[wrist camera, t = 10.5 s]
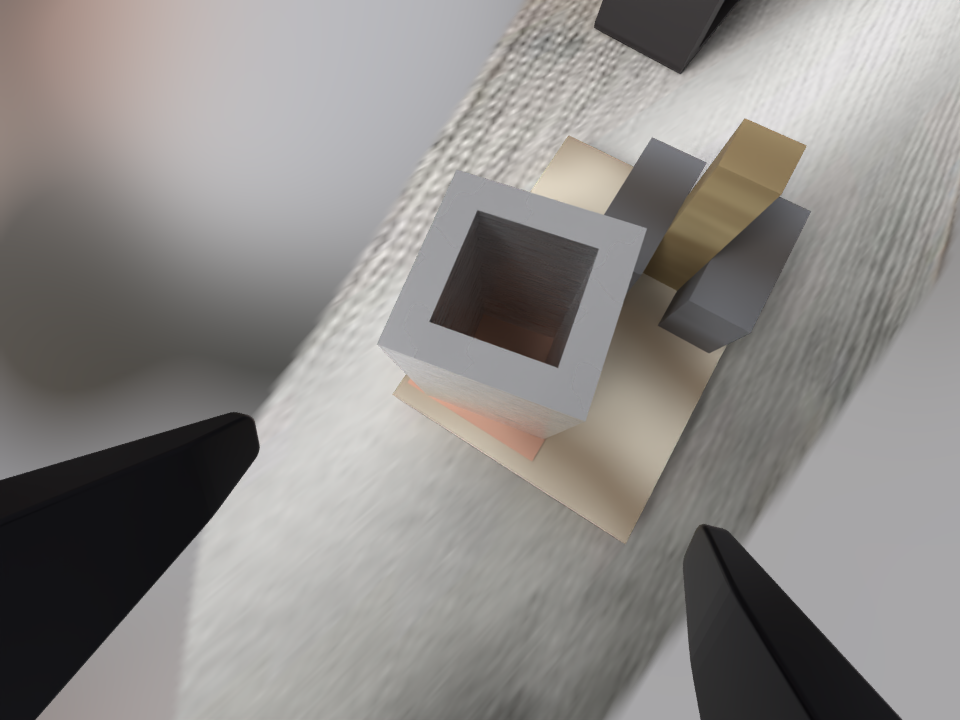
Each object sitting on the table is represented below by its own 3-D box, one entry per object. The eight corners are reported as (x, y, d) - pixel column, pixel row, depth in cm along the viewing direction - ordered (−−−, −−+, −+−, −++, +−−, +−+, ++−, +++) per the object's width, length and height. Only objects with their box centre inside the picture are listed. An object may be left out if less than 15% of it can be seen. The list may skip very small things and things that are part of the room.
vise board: (614, 537, 18) (720, 603, 9) (399, 399, 19) (331, 354, 11) (760, 253, 21) (937, 116, 13) (563, 156, 23) (604, -20, 14)
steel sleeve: (543, 439, 17) (585, 421, 10) (426, 394, 18) (377, 344, 10) (581, 326, 18) (647, 228, 11) (471, 288, 19) (456, 169, 11)
